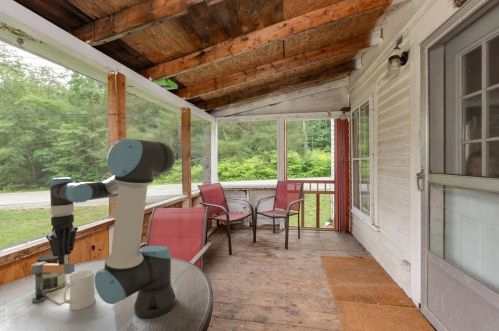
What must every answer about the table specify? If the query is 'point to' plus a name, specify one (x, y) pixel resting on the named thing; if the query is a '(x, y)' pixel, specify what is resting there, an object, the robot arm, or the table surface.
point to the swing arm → (52, 268)
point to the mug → (81, 290)
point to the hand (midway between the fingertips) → (63, 270)
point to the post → (39, 289)
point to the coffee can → (51, 274)
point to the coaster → (59, 296)
